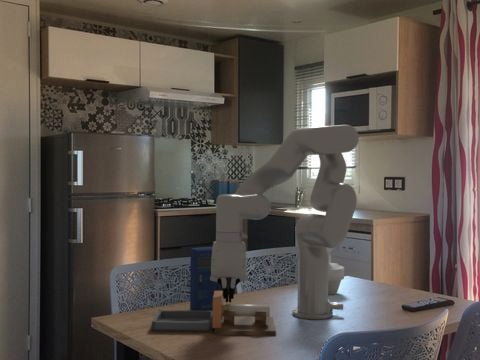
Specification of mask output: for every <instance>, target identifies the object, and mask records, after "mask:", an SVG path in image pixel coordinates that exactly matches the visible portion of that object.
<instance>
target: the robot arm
mask: <svg viewBox="0 0 480 360" xmlns="http://www.w3.org/2000/svg"><path fill="white" fill-rule="evenodd" d="M358 143H359V133H358V131H357V129H356V128H355V127H354V126H352V125H350V124H340V125H339V124H338V125H337V124H336V125H324V126H323V125H321V126H318V125H317V126H315V125H314V126H306V127H298V128H295V129H293V130H292V131H290V132H289V134H288V135H287V136H286V138H285V139H284V140H283V141H282V143H281V144H280V146H279V147H278V148H277V150H276V151H275V152H274V153H273V154H272V156H271V157H270V158H269V160H268V161H267V162H266V163H264V164H262V165H261V166H260V167H259V168H258V169H256V170H255V171H254V172H253V173H252V174H250V175H249V176H247V178H246V179H245V180H244V181H243V182H242V183H241V185H240V186H239V187H238V188H237V190H236V191H235V192H234V193H233V194H231V193H229V194H227V193H226V194H225V193H224V194H219V195H218V196H217V198H216V202H215V203H216V207H215V209H216V210H215V211H216V214H215V219H216V220H215V229H216V230H215V241H213V243H212V247H213V248H212V258H211V277H210V280H211V281H215V282H218V283H219V284H220V285H221V288H223V289H222V291H223V300H225V303H232V300H234V298H235V297H234V296H235V295H234V294H235V293H234V292H235V288H236V286H238V284H239V283H243V282H247V281H248V275H247V268H248V267H247V265H248V264H247V261H248V260H247V249H246V243H245V242H244V241H243V240H245V239H248V233H245V232H243V220H254V221H256V220H257V221H258V220H263V219H264V218H266V217H267V216H268V215H269V214H270V212H271V210H272V203H271V202H270V200H269V199H268V197H266V196H265V195H263V194H264V193H266V192H267V191H268V190H270V189H272V188H274V187H277V186H279V185H281V184H283V183H286V182H287V181H289V180H291V178H292V177H293V176H294V174H295V173H296V172H297V170H298V169H299V168H300V166H301V165H302V163H303V162H304V161H305V160H306V158H307V157H308V156H316V155H317V156H318V157H319V163H320V164H319V168H318V173H317V176H316V179H315V181H314V185H313V187H312V190H311V194H310V196H309V197H310V198H309V201H310V202H309V203H310V205H311V207H312V208H313V209H314V210H316V211H318V212H321V213H322V212H323V213H325V215H324V214H319V213H318V214H315V213H307V214H304V215H302V216H301V217H299V219H298V220H297V221H296V224H295V228H294V230H295V232H294V233H295V240H296V244H297V307H296V306H295V307H294V308H293V309H292V316H295V317H297V318H301V319H305V320H325V319H330V318H332V317H333V316H334V315H333V314H334V310H337V311H344V303H338V302H331V301H330V300H329V295H328V266H329V259H328V253H327V249H326V247H327V248H335V249H336V248H338V247H340V246H341V245H342V244H343V243H344V240H345V239H346V237H347V235H348V232H349V229H350V226H351V224H352V220H353V217H354V214H355V212H356V206H357V203H358V202H357V193H356V191H355V189H354V188H353V186H352V185H350V184H349V183H346V182H345V179H346V174H347V163H346V160H345V157H344V155H343V154H345V153H350V152H352V151H354V149H356V147H357V146H358ZM345 241H346V240H345ZM227 278H231V279H230V280H231V281H230V284H229V286H228V284H227V283H228V282H227Z"/></svg>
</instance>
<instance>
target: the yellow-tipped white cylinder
mask: <svg viewBox="0 0 480 360" xmlns="http://www.w3.org/2000/svg"><path fill="white" fill-rule="evenodd" d="M270 307H271V306H270V304H253V303H251V304H250V303H249V304H247V303H246V304H245V303H241V304H240V303H239V304H237V303H222V308H221V316H222V317H224V310H234V317H256V310H266V317H270V314H271V313H270V312H271V311H270V309H271V308H270Z"/></svg>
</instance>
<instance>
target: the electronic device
mask: <svg viewBox="0 0 480 360" xmlns="http://www.w3.org/2000/svg"><path fill="white" fill-rule="evenodd" d="M212 248H213V246H204V247H201V246H200V247H191V248H190V262H189V264H190V270H189V271H190V274H189V275H190V279H189V281H190V282H189V283H190V285H189V286H190V288H189V289H190V292H189V310H194V311H213V296H214V291H222V286H221V285H220V284H219V283H218V282H215V281H211V280H210V277H211V258H212Z"/></svg>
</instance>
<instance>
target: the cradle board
mask: <svg viewBox="0 0 480 360" xmlns="http://www.w3.org/2000/svg"><path fill="white" fill-rule="evenodd" d="M213 335H214V336H215V335H216V336H218V335H219V336H277V330H276V325H275V320H274V317H272V316H269V317H266V310H256V317H245V316H234V310H224V316H222V319H221V328H213Z"/></svg>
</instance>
